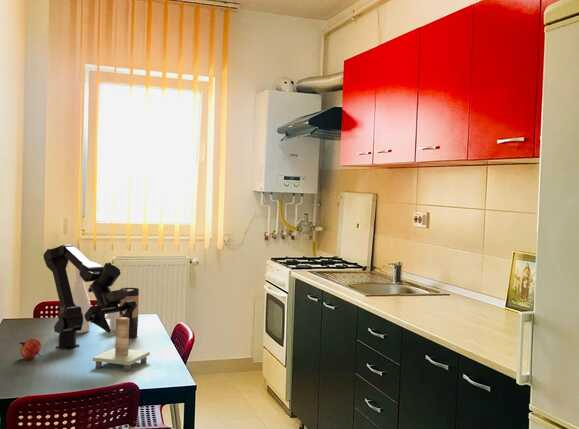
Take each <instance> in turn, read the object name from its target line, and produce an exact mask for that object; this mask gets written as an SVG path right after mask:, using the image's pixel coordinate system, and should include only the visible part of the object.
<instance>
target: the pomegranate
mask: <svg viewBox="0 0 579 429" xmlns="http://www.w3.org/2000/svg"><path fill="white" fill-rule="evenodd" d="M19 344H20V345H21V346H20V348H19V353H20V355H21V357H23V359H25V360H27V361H32V360H34V359H35V358H36V355H38V356H39V357H41V358H44V357H43V355H41V354H39V353H40V351H41V349H42V348H41V345H42V344H41V342H40V340H38V339H36V338H29V339H26V340H25V341H24V342H22V341H20V342H19Z"/></svg>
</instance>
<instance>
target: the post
mask: <svg viewBox="0 0 579 429" xmlns="http://www.w3.org/2000/svg"><path fill="white" fill-rule="evenodd" d="M129 340H130V339H129V318H125V317H122V318H116V331H115V343H114V344H115V345H114V346H115V347H114V348H115V355H116V356H126V355H128V349H129Z"/></svg>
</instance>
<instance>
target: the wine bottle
mask: <svg viewBox="0 0 579 429" xmlns="http://www.w3.org/2000/svg"><path fill="white" fill-rule="evenodd" d="M79 272H80V271H79V270H78V269H77V268H76V267H75V272H74V273H75V274H74V283H73V286H72V288H71V293H72V297H73V301H74V304H75V305H76V306H77V307H78V306H80V307H81V311H82V314H83V324H82V328H81V330H80V331H76V335H77V334H84V333H85V334H86V333H88V332H89V331H90V329H91V327H90V326H91V322H90V321H89V322H87V321H86V319H85V313H86V312H87V311H88V309H89V308H90V306H91V300H90V298H89V295H88V291H87V288H86V285H85V281H84V280H83V279H82V278H81V276H80V275H79Z"/></svg>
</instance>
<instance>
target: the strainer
mask: <svg viewBox="0 0 579 429" xmlns="http://www.w3.org/2000/svg"><path fill="white" fill-rule="evenodd" d="M116 318H119V312H116V313H109V314H105V319H106V320H109V327H110V330H111V332H116Z"/></svg>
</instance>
